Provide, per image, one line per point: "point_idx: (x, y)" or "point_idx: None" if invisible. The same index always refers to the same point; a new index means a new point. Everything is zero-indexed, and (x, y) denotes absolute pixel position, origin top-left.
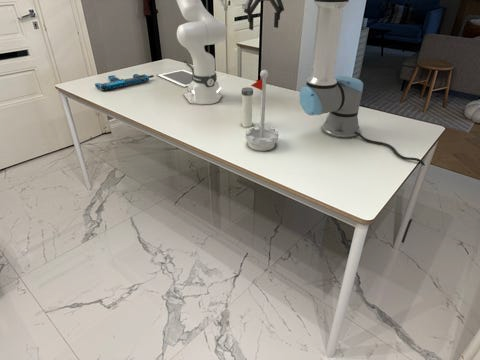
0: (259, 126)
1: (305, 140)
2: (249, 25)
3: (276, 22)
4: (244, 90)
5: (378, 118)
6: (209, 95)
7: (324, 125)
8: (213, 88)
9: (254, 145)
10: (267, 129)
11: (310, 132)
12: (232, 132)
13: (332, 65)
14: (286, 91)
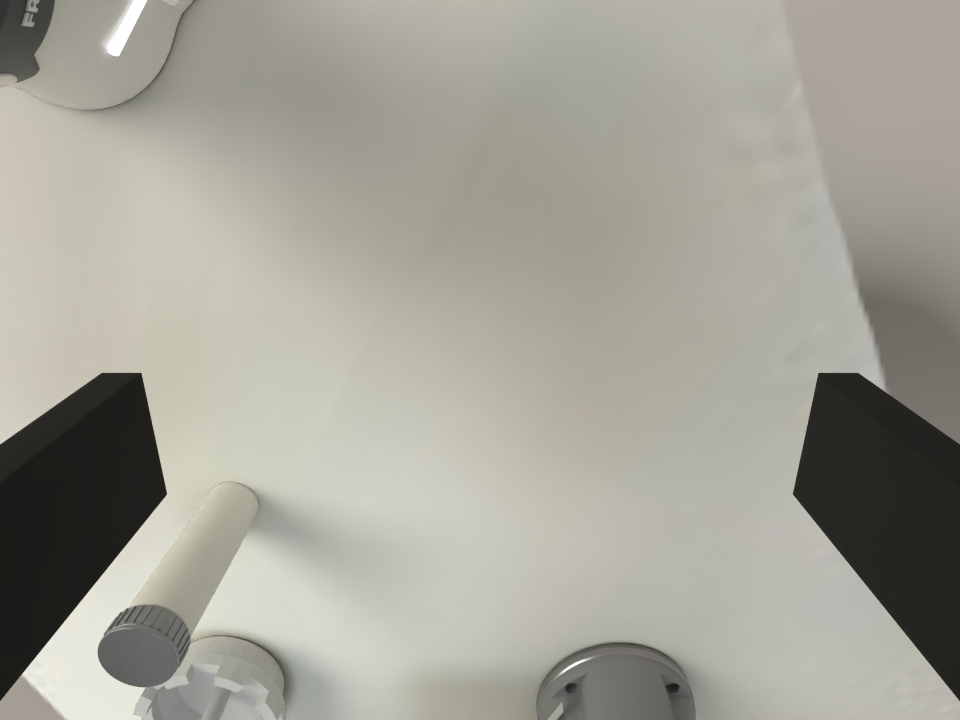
0: (217, 682)
1: (418, 709)
2: (51, 425)
3: (861, 547)
4: (110, 670)
5: (872, 675)
6: (39, 92)
7: (549, 698)
8: (49, 73)
9: (176, 715)
10: (256, 687)
11: (482, 667)
12: (137, 543)
13: None
14: (772, 98)
